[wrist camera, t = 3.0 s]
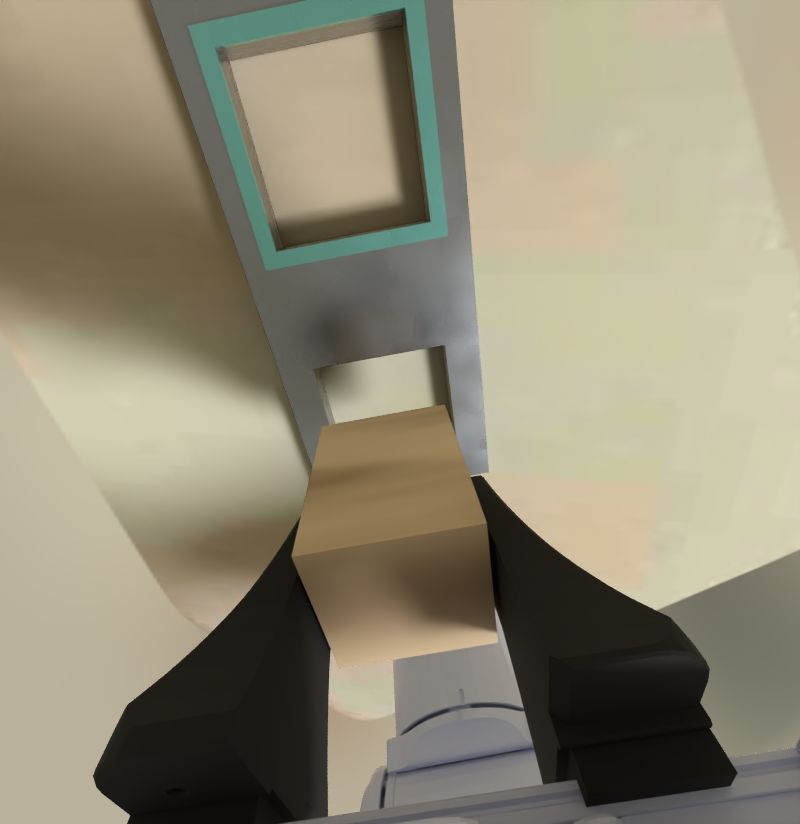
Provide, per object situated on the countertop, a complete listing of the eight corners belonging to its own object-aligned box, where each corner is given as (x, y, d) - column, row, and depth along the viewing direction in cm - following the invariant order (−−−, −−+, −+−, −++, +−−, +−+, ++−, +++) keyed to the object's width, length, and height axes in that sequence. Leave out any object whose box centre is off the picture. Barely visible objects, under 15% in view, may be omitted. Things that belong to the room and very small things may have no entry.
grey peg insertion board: (483, 459, 22) (489, 474, 21) (326, 486, 22) (323, 503, 21) (440, -48, 13) (448, -74, 11) (166, 11, 13) (144, -10, 12)
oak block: (457, 500, 16) (497, 642, 11) (350, 518, 16) (339, 668, 11) (444, 404, 14) (486, 523, 9) (322, 426, 14) (291, 556, 9)
